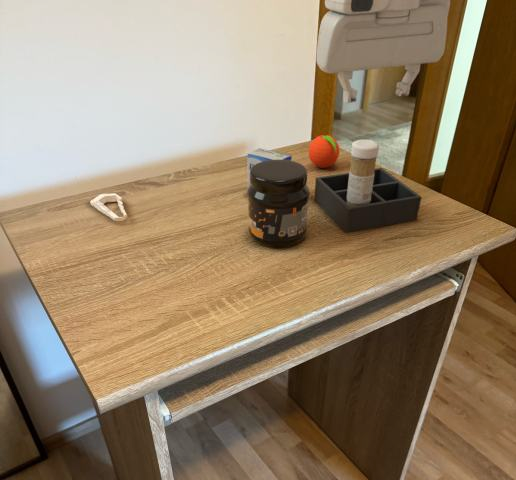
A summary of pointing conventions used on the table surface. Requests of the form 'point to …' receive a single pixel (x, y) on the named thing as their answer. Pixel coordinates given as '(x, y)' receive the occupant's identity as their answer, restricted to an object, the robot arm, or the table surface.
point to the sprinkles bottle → (361, 172)
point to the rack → (370, 215)
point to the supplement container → (278, 202)
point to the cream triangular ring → (99, 205)
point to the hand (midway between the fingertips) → (375, 98)
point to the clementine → (323, 151)
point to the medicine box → (263, 158)
